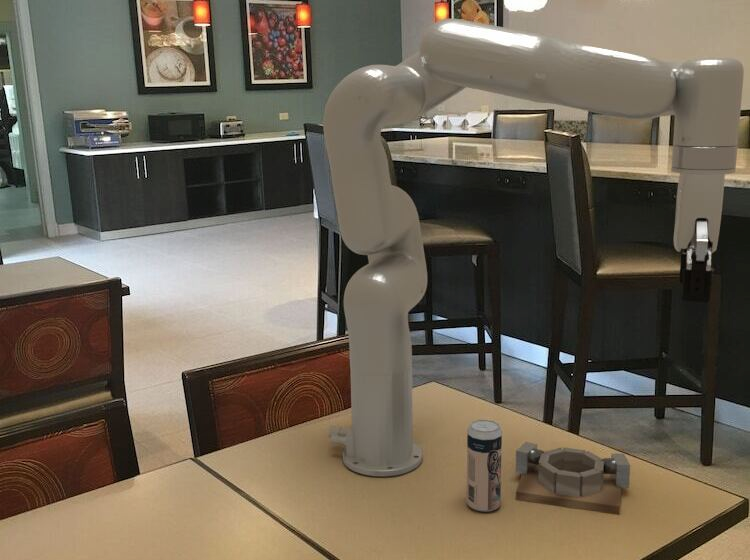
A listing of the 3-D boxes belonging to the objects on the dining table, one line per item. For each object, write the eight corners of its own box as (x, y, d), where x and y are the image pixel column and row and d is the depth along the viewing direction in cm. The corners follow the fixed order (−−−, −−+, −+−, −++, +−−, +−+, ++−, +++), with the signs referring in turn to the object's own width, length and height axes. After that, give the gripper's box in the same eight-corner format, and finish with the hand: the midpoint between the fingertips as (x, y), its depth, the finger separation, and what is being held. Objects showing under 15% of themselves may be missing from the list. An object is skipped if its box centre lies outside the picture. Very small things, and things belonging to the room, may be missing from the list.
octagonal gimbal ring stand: (515, 499, 112) (516, 472, 111) (527, 465, 122) (528, 440, 121) (619, 514, 107) (620, 486, 106) (622, 477, 118) (623, 451, 117)
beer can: (500, 515, 108) (501, 433, 105) (464, 512, 109) (465, 431, 106) (501, 498, 112) (503, 419, 110) (467, 495, 113) (468, 417, 110)
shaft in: (545, 468, 118) (546, 446, 118) (535, 477, 116) (536, 455, 115) (525, 462, 120) (525, 441, 119) (515, 472, 117) (516, 450, 116)
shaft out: (605, 487, 112) (607, 464, 112) (600, 475, 116) (601, 453, 115) (628, 487, 112) (630, 464, 111) (622, 475, 116) (624, 453, 115)
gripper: (670, 154, 109) (662, 276, 113) (673, 165, 93) (664, 306, 97) (729, 155, 106) (719, 279, 110) (743, 166, 91) (730, 311, 94)
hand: (693, 291), depth 104 cm, fingers open, 9 cm apart
